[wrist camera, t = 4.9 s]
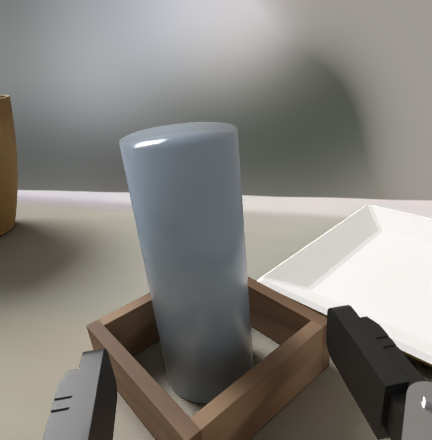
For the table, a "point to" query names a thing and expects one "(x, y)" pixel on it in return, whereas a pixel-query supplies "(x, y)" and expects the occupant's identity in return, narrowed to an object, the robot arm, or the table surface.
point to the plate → (369, 274)
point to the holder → (237, 392)
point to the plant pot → (7, 167)
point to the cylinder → (193, 251)
